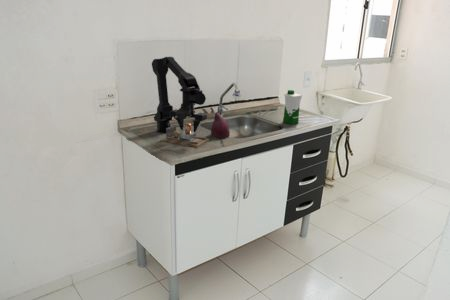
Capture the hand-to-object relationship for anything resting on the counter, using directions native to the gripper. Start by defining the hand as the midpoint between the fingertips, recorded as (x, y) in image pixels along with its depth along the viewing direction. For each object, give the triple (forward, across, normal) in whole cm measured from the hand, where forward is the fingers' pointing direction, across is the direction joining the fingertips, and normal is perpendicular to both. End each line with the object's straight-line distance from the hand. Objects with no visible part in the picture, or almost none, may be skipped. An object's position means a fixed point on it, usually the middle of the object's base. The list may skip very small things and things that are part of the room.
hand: (188, 131), depth 186 cm
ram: (+4, 0, 0) cm, 4 cm away
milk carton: (+6, +37, +66) cm, 76 cm away
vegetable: (+6, +10, +18) cm, 21 cm away
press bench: (+6, -1, 0) cm, 6 cm away
